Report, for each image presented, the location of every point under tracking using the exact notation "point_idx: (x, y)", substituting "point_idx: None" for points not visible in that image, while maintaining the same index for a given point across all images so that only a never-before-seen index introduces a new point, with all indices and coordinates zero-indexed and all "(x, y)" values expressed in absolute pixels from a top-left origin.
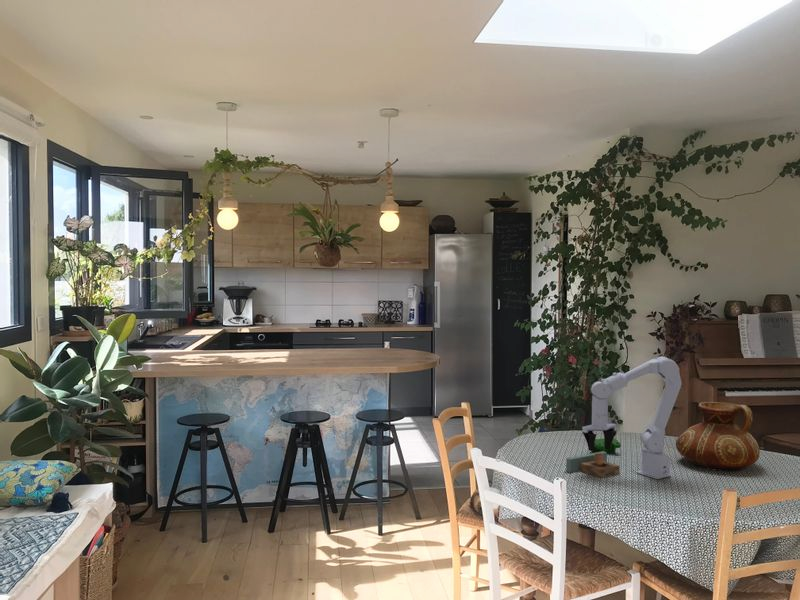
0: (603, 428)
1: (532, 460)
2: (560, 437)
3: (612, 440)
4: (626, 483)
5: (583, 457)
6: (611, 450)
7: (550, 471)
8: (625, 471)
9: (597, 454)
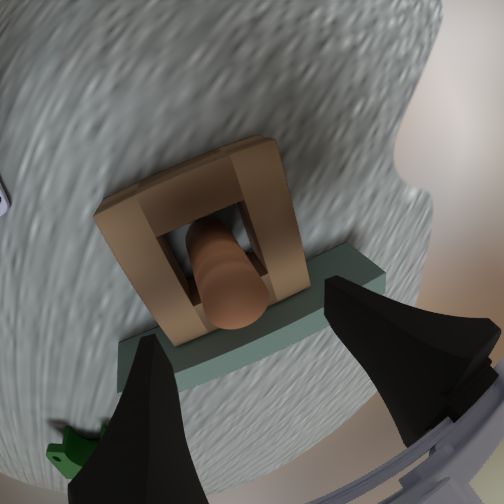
0: (451, 490)
1: (356, 367)
2: None
3: (117, 407)
4: (167, 12)
5: (296, 318)
6: (75, 441)
7: (391, 263)
8: (53, 241)
9: (263, 284)
